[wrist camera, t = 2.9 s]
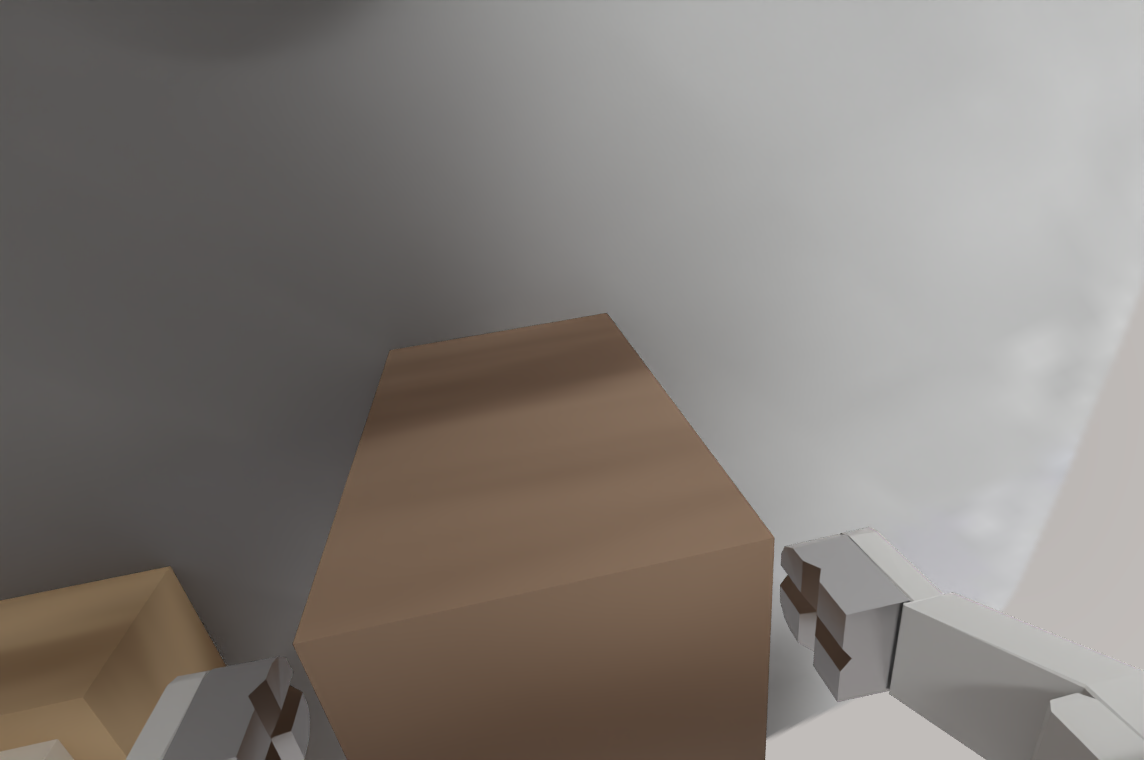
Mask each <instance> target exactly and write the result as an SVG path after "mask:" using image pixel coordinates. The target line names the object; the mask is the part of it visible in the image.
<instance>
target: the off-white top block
mask: <svg viewBox="0 0 1144 760" xmlns="http://www.w3.org/2000/svg"><path fill="white" fill-rule="evenodd" d="M0 760H74V759H73V758H72V756H71V755H70V754H69V752H68V751H67V750H66V749H65V747H64V746H63V745H62V743H61V742H60V741H59V740H58V739H55V740H50V741H46V742H41V743H37V744H32V745H28V746H23V747H19V748H14V749H10V750H5V751H1V752H0Z"/></svg>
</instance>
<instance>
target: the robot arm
mask: <svg viewBox="0 0 1144 760" xmlns="http://www.w3.org/2000/svg"><path fill="white" fill-rule="evenodd" d="M781 566H782V567H783V569H784V570H785V571H786V573H787V574H788V575H787V576H786V578H785V579H784V581H783V582H782V583H781V585H780V603H781V607H782V610H783V614H784V618H785V620H786V622H787V624H788V627H789V629H790V631H791V632H792V634H793V635H794V637H795V639H796V640H797V642H798V643H800V644H801V645H803V646H805V647H807V648H808V649H810V650H812V651H814V660H813V666H814V668H815V669H816V671H817V672H818V674H819V675H820V677H821V678H822V680H823V681H824V683H825V684H826V686H827V687H828V689H829V690H830V692H831V693H832V695H833V696H834V698H835V699H836V701H837V702H840V701H845V700H849V699H854V698H858V697H863V696H868V695H872V694H877V693H881V692H886V691H889V694H890V695H891V696H893V697H894V698H896V699H897V700H899V701H900V702H902V703H903V704H905V705H906V706H908V707H909V708H911V709H912V710H914V711H915V712H917V713H918V714H920V715H921V716H923V717H924V718H926V719H927V720H928V721H930V722H931V723H933V724H934V725H936V726H937V727H939V728H940V729H942V730H943V731H945V732H946V733H948V734H949V735H950V736H952V737H954V738H955V739H956V740H958V741H959V742H961V743H962V744H964V745H965V746H967V747H968V748H970V749H971V750H973V751H974V752H976V753H977V754H978V755H980V756H982V757H983V758H985V759H986V760H1144V670H1142V669H1139V668H1137V667H1135V666H1132V665H1130V664H1127V663H1125V662H1122V661H1120V660H1117V659H1115V658H1113V657H1110V656H1107V655H1105V654H1102V653H1100V652H1098V651H1095V650H1093V649H1091V648H1088V647H1086V646H1083V645H1081V644H1078V643H1076V642H1073V641H1071V640H1068V639H1065V638H1063V637H1061V636H1058V635H1056V634H1054V633H1051V632H1048V631H1046V630H1044V629H1041V628H1039V627H1037V626H1034V625H1032V624H1029V623H1027V622H1024V621H1022V620H1019V619H1017V618H1015V617H1012V616H1010V615H1007V614H1005V613H1002V612H1000V611H997V610H995V609H992V608H990V607H988V606H985V605H983V604H980V603H978V602H975V601H973V600H970V599H968V598H966V597H963V596H961V595H958V594H956V593H953V592H952V593H947V594H943V593H942V592H941V591H940V590H939V589H938V588H937V587H936V586H935V585H934V584H933V583H932V582H931V581H930V580H929V579H927V578H926V577H925V576H924V575H923V574H922V573H921V572H920V571H919V570H918V569H917V568H916V567H915V566H914V565H913V564H912V563H911V562H910V561H908V560H907V559H906V558H905V557H904V556H903V555H902V554H901V553H900V552H899V551H898V550H897V549H896V548H895V547H894V546H893V545H892V544H891V543H889V542H888V541H887V540H886V539H885V538H884V537H883V536H882V535H881V534H880V533H879V532H878V531H877V530H875V529H872V528H870V527H866V528H862V529H858V530H853V531H849V532H845V533H841V534H840V535H838V534H836V535H832V536H828V537H823V538H819V539H814V540H810V541H806V542H801V543H797V544H792V545H788V546H785V547H784V549H783V551H782V553H781ZM292 676H293V670H292V668H291V666H290V664H289V662H288V660H287V658H286V657H280V656H277V657H272V658H267V659H262V660H257V661H251V662H246V663H241V664H236V665H230V666H225V667H220V668H215V669H212V670H208V671H203V672H198V673H192V674H187V675H182V676H177V677H176V678H175V679H174V680H173V681H172V682H170V683H169V684H168V685H167V686H166V688H165V690H164V692H163V693H162V695H161V697H160V699H159V701H158V702H157V704H156V706H155V708H154V710H153V711H152V713H151V715H150V717H149V718H148V720H147V722H146V724H145V726H144V727H143V729H142V731H141V733H140V735H139V736H138V738H137V740H136V742H135V744H134V745H133V747H132V749H131V751H130V752H129V754H128V756H127V758H126V760H304V759H305V755H306V751H307V747H308V743H309V736H310V714H309V709H308V703H307V701H306V699H305V696H304V694H303V692H301V691H300V690H298V689H296V688H294V687H292V686H290V682H291V679H292Z"/></svg>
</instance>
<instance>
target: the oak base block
mask: <svg viewBox="0 0 1144 760" xmlns="http://www.w3.org/2000/svg"><path fill="white" fill-rule="evenodd" d="M225 666H226V665H225V663H224V662H223V660H222V658H221V656H220V655H219V653H218V651H217V649H216V647H215V646H214V644H213V642H212V640H211V638H210V637H209V635H208V633H207V631H206V629H205V628H204V626H203V624H202V622H201V620H200V619H199V617H198V615H197V613H196V611H195V610H194V608H193V606H192V604H191V602H190V601H189V599H188V597H187V595H186V593H185V592H184V590H183V588H182V586H181V584H180V583H179V581H178V579H177V577H176V575H175V574H174V572H173V570H172V568H171V566H168V567H164V568H159V569H154V570H149V571H144V572H139V573H134V574H129V575H124V576H119V577H114V578H109V579H104V580H99V581H94V582H89V583H84V584H80V585H75V586H70V587H65V588H60V589H55V590H50V591H45V592H40V593H35V594H30V595H25V596H20V597H15V598H10V599H5V600H0V752H1V751H5V750H10V749H14V748H19V747H23V746H28V745H32V744H37V743H41V742H46V741H50V740H55V739H58V740H59V741H60V742H61V743H62V745H63V746H64V747H65V749H66V750H67V751H68V752H69V754H70V755H71V756H72V758H73V759H74V760H126V758H127V756H128V754H129V752H130V751H131V749H132V747H133V745H134V744H135V742H136V740H137V738H138V736H139V735H140V733H141V731H142V729H143V727H144V726H145V724H146V722H147V720H148V718H149V717H150V715H151V713H152V711H153V710H154V708H155V706H156V704H157V702H158V701H159V699H160V697H161V695H162V693H163V692H164V690H165V688H166V686H167V685H168V684H169V683H170V682H172V681H173V680H174V679H175V678H176V677H177V676H182V675H187V674H192V673H198V672H203V671H208V670H212V669H215V668H220V667H225Z"/></svg>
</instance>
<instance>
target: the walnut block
mask: <svg viewBox="0 0 1144 760" xmlns="http://www.w3.org/2000/svg"><path fill="white" fill-rule="evenodd" d="M773 562H774V536H773V535H772V534H771V532H770V531H769V530H768V528H767V527H766V526H765V524H764V523H763V522H762V520H761V519H760V518H759V516H758V515H757V514H756V512H755V511H754V510H753V508H752V507H751V506H750V504H749V503H748V502H747V500H746V499H745V498H744V496H743V495H742V494H741V492H740V491H739V490H738V488H737V487H736V485H735V484H734V483H733V481H732V480H731V479H730V477H729V476H728V475H727V473H726V472H725V471H724V469H723V468H722V467H721V465H720V464H719V463H718V461H717V460H716V459H715V457H714V456H713V455H712V453H711V452H710V451H709V449H708V448H707V447H706V445H705V444H704V443H703V441H702V440H701V439H700V437H699V436H698V435H697V433H696V432H695V430H694V429H693V428H692V426H691V425H690V424H689V422H688V421H687V420H686V418H685V417H684V416H683V414H682V413H681V412H680V410H679V409H678V408H677V406H676V405H675V404H674V402H673V401H672V400H671V398H670V397H669V396H668V394H667V393H666V392H665V390H664V389H663V388H662V386H661V385H660V384H659V382H658V381H657V380H656V378H655V377H654V376H653V374H652V373H651V371H650V370H649V369H648V367H647V366H646V365H645V363H644V362H643V361H642V359H641V358H640V357H639V355H638V354H637V353H636V351H635V350H634V349H633V347H632V346H631V345H630V343H629V342H628V341H627V339H626V338H625V337H624V335H623V334H622V333H621V331H620V330H619V329H618V327H617V326H616V325H615V323H614V322H613V321H612V319H611V318H610V316H609V315H608V314H607V313H604V314H598V315H592V316H586V317H581V318H575V319H569V320H563V321H557V322H551V323H546V324H540V325H534V326H528V327H522V328H517V329H511V330H505V331H499V332H493V333H487V334H482V335H476V336H470V337H464V338H458V339H452V340H447V341H441V342H435V343H429V344H423V345H417V346H412V347H406V348H400V349H394V350H390V351H389V354H388V357H387V360H386V363H385V366H384V369H383V372H382V375H381V378H380V381H379V384H378V387H377V390H376V393H375V396H374V399H373V402H372V406H371V409H370V412H369V415H368V418H367V421H366V424H365V427H364V430H363V433H362V436H361V439H360V442H359V445H358V448H357V451H356V454H355V457H354V460H353V463H352V466H351V469H350V472H349V475H348V478H347V481H346V484H345V487H344V490H343V493H342V496H341V499H340V502H339V505H338V508H337V511H336V514H335V517H334V520H333V523H332V527H331V530H330V533H329V536H328V539H327V542H326V545H325V548H324V551H323V554H322V557H321V560H320V563H319V566H318V569H317V572H316V575H315V578H314V581H313V584H312V587H311V590H310V593H309V596H308V599H307V602H306V605H305V608H304V611H303V614H302V617H301V620H300V623H299V626H298V629H297V632H296V635H295V638H294V641H293V646H294V648H295V650H296V652H297V655H298V657H299V659H300V661H301V663H302V665H303V667H304V669H305V671H306V674H307V676H308V678H309V680H310V682H311V684H312V686H313V688H314V691H315V693H316V695H317V697H318V699H319V701H320V703H321V705H322V707H323V710H324V712H325V714H326V716H327V718H328V720H329V722H330V724H331V727H332V729H333V731H334V733H335V735H336V737H337V739H338V741H339V744H340V746H341V748H342V750H343V752H344V754H345V756H346V758H347V760H765V750H766V727H767V703H768V680H769V656H770V632H771V609H772V585H773Z"/></svg>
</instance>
